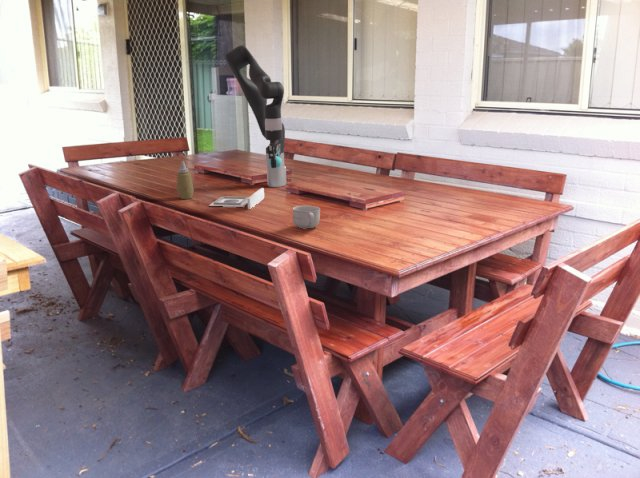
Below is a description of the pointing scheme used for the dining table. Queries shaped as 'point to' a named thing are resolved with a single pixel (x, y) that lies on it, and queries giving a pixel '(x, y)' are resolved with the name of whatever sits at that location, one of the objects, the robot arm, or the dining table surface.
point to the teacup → (306, 216)
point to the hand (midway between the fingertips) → (275, 166)
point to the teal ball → (278, 162)
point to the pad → (230, 201)
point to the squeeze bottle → (184, 183)
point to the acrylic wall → (255, 198)
